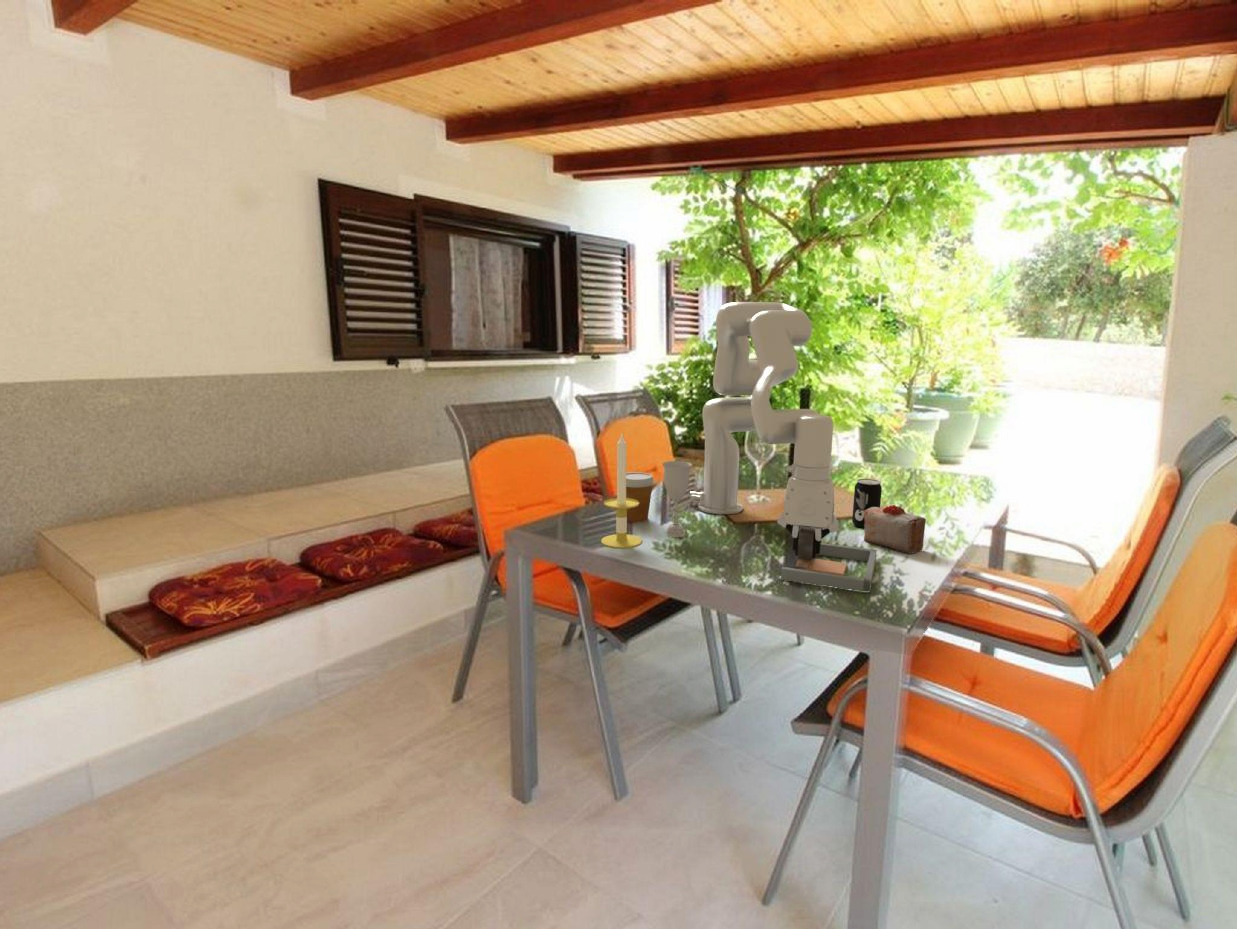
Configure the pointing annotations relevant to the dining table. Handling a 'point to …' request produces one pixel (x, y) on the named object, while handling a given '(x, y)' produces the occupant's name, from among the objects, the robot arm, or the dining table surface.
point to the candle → (621, 505)
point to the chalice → (676, 490)
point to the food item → (894, 528)
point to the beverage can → (865, 499)
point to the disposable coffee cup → (639, 495)
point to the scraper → (805, 548)
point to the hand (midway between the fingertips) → (806, 554)
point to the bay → (834, 579)
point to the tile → (828, 567)
